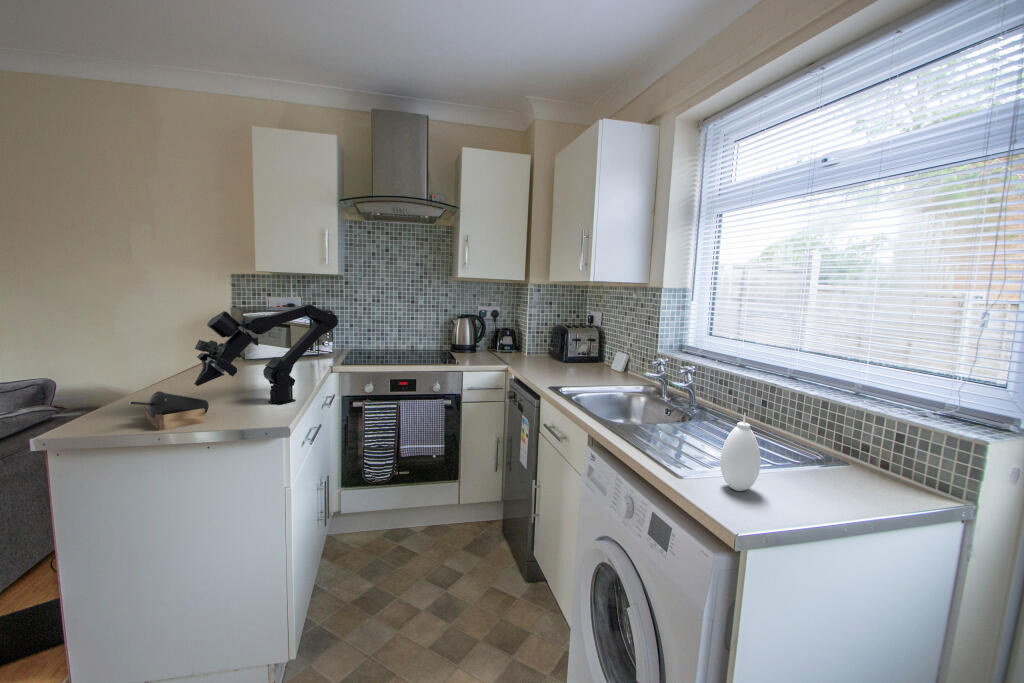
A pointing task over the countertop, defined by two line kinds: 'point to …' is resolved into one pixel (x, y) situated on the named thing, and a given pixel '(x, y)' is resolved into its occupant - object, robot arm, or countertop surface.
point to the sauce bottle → (740, 457)
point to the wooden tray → (176, 418)
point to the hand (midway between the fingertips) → (195, 385)
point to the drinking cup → (172, 404)
